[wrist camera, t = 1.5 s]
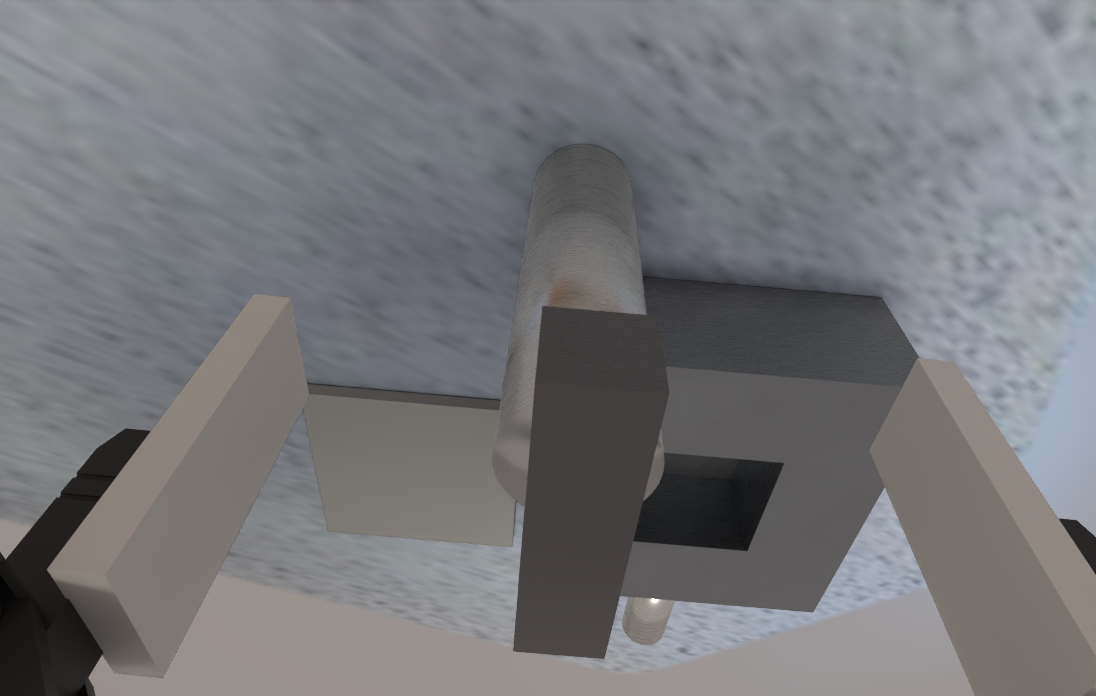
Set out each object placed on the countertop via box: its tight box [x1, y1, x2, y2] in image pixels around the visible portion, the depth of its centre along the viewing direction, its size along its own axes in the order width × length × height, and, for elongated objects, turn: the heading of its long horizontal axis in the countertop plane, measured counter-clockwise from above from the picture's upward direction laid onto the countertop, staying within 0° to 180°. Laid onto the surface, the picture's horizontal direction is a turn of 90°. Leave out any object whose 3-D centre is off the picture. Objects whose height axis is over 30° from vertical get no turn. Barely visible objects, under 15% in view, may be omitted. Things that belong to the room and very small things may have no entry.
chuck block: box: [518, 277, 920, 645], centre depth 27 cm, size 12×17×5 cm
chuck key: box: [492, 144, 669, 659], centre depth 17 cm, size 7×3×14 cm, turn 176°
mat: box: [303, 384, 516, 547], centre depth 30 cm, size 9×9×1 cm
